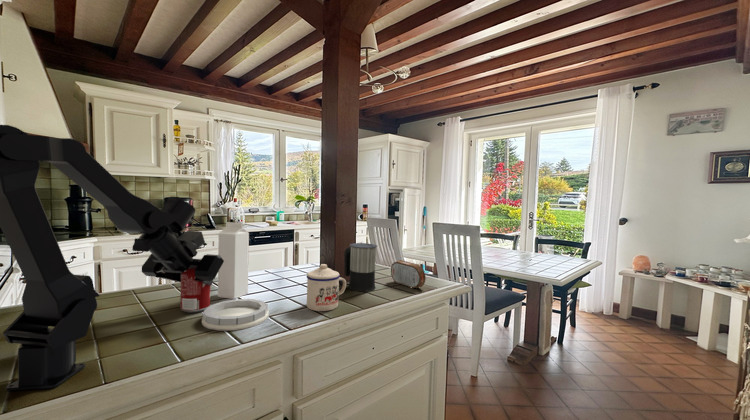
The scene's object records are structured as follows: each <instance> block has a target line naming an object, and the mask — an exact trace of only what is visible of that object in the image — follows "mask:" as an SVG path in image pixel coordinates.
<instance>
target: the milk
mask: <svg viewBox="0 0 750 420" xmlns="http://www.w3.org/2000/svg"><path fill="white" fill-rule="evenodd" d="M243 227H244V226H243V222H234V221H233V222H231V221H227V222H226V223H225V227H224V228H223V229H222V230H221V231H220V232H219V233H218V245H217V246H218V252H217V253H218V254H217V255H220V256H221V257H222V259H223V260H224V262H223V264H222V266H221V268H220V270H219V271H218V273H217V297H218V298H224V299H230V300H235V299H236V300H237V298H238V299H239V298H241V297H243V296H245V295H248V294H249V255H250V254H249V251H250V250H249V244H250V243H249V241H250V232H248V231H247V230H246V229H244V228H243Z"/></svg>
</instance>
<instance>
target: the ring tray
mask: <svg viewBox="0 0 750 420" xmlns="http://www.w3.org/2000/svg"><path fill="white" fill-rule="evenodd" d="M202 312H203V315H202V317H201V325H202V326H203V327H204V328H206V329H208V330H212V331H218V332H220V331H221V332H223V331H225V332H227V331H228V332H229V331H239V330H244V329H248V328H252V327H255V326H258V325H260V324H263V323H264V322H266V321H267V320H268V319H269V317H270V311H269V306H268V304H267V303H266V302H265V301H263V300H260V299H255V298H254V299H253V298H238V299H237V298H236V299H230V300H225V301H224V300H223V301H220V302H217V303H214V304H210V306H209V307H207V308H206V309H205V310H203V311H202Z"/></svg>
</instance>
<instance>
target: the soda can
mask: <svg viewBox="0 0 750 420" xmlns="http://www.w3.org/2000/svg"><path fill="white" fill-rule="evenodd" d="M195 278H196V277H195V269H189V268H188V270H187V271H184V272H183V273H181V282H180V307H179V308H180V310H181V311H183V312H185V313H190V314H193V313H199V312H203V311H204V310H205V309H206V308H207V307H209V306H211V286H210V285H206V284H203V283H201V282H198V281H195Z"/></svg>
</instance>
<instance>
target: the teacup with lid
mask: <svg viewBox="0 0 750 420" xmlns="http://www.w3.org/2000/svg"><path fill="white" fill-rule="evenodd" d="M306 279H307V280H306V281H307V282H306V283H307V285H306V286H307V287H306V307H307V309H309V310H311V311H316V312H326V311H327V312H328V311H333V310H334V309H337V308H338V307H339V296H340V295H342V294H343V293H344V292H345V290H346V288H347V285H346V283H347V281H346V279H345V278H343V277H340V273H339V272H338V271H336V270H333V269H332V268H329V267H328V265H327V263H326V264H325V263H321V264H320V265H319V267H317V268H315V269H314V270H311V271H309V272H307V274H306ZM339 280H341V281H343V286H341V287H342V289H341V290H340V291H339V288H340V287H339V286H340V284H339ZM338 291H339V292H338Z"/></svg>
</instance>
